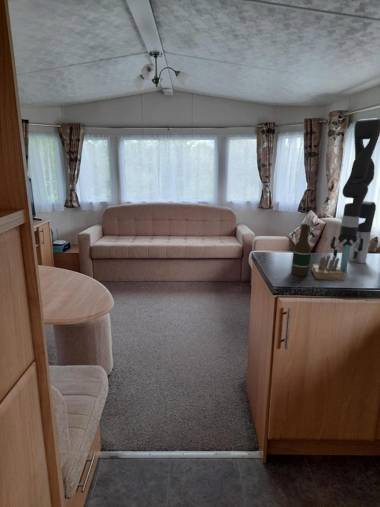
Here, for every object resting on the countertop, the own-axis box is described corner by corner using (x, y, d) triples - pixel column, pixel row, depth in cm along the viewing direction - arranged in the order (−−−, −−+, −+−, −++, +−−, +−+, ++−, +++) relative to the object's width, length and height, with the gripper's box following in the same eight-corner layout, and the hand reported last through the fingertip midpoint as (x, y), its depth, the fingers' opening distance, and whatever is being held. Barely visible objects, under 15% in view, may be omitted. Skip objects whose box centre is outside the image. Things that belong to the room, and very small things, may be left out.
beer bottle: (308, 272, 165) (314, 223, 159) (307, 277, 158) (314, 226, 152) (291, 270, 168) (296, 222, 162) (290, 275, 161) (296, 225, 155)
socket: (311, 269, 170) (314, 251, 168) (337, 272, 168) (340, 254, 165) (315, 278, 157) (318, 259, 154) (343, 281, 154) (346, 261, 152)
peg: (338, 270, 171) (342, 243, 167) (345, 270, 170) (349, 243, 167) (340, 272, 168) (344, 244, 164) (347, 272, 167) (351, 245, 164)
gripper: (363, 225, 165) (358, 257, 169) (332, 223, 168) (327, 254, 172) (367, 227, 158) (361, 261, 162) (335, 225, 161) (330, 258, 165)
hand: (344, 257), depth 167 cm, fingers open, 8 cm apart
